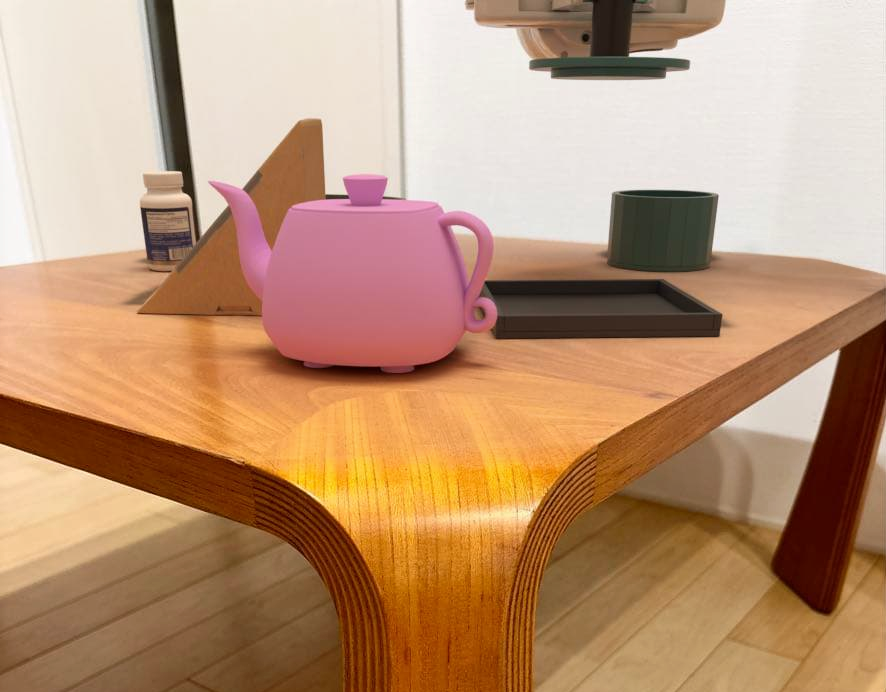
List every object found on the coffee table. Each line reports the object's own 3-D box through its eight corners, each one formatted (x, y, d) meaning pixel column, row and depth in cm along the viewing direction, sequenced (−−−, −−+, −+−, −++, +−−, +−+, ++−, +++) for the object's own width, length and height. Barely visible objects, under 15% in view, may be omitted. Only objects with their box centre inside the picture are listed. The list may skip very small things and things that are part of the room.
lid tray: (661, 297, 84) (663, 278, 84) (719, 336, 70) (722, 313, 69) (476, 299, 83) (476, 280, 83) (495, 338, 69) (496, 315, 68)
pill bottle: (159, 264, 102) (148, 170, 98) (206, 265, 102) (196, 170, 98) (140, 271, 97) (127, 173, 93) (189, 272, 97) (177, 173, 93)
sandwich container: (167, 295, 85) (146, 117, 78) (331, 297, 84) (322, 118, 77) (133, 313, 77) (106, 117, 71) (313, 316, 76) (301, 118, 70)
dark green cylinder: (692, 256, 109) (699, 189, 106) (724, 271, 99) (733, 197, 95) (597, 257, 108) (602, 189, 105) (620, 272, 98) (626, 197, 95)
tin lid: (663, 81, 76) (673, -26, 73) (710, 76, 65) (724, -51, 62) (519, 80, 76) (523, -29, 73) (541, 74, 65) (547, -54, 62)
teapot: (513, 342, 67) (518, 171, 62) (475, 390, 56) (479, 184, 51) (262, 328, 72) (248, 166, 67) (178, 370, 60) (154, 178, 55)
